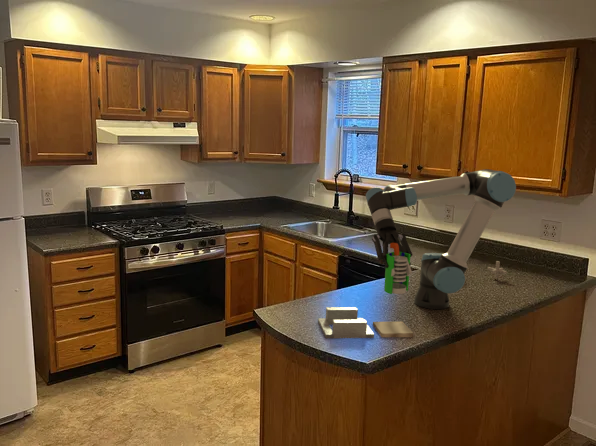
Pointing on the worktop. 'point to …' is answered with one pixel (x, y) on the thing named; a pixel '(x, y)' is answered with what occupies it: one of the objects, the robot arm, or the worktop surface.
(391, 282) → the green-shelled ribbed roller
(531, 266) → the worktop surface
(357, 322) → the vise
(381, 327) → the board
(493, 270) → the pipe connector
